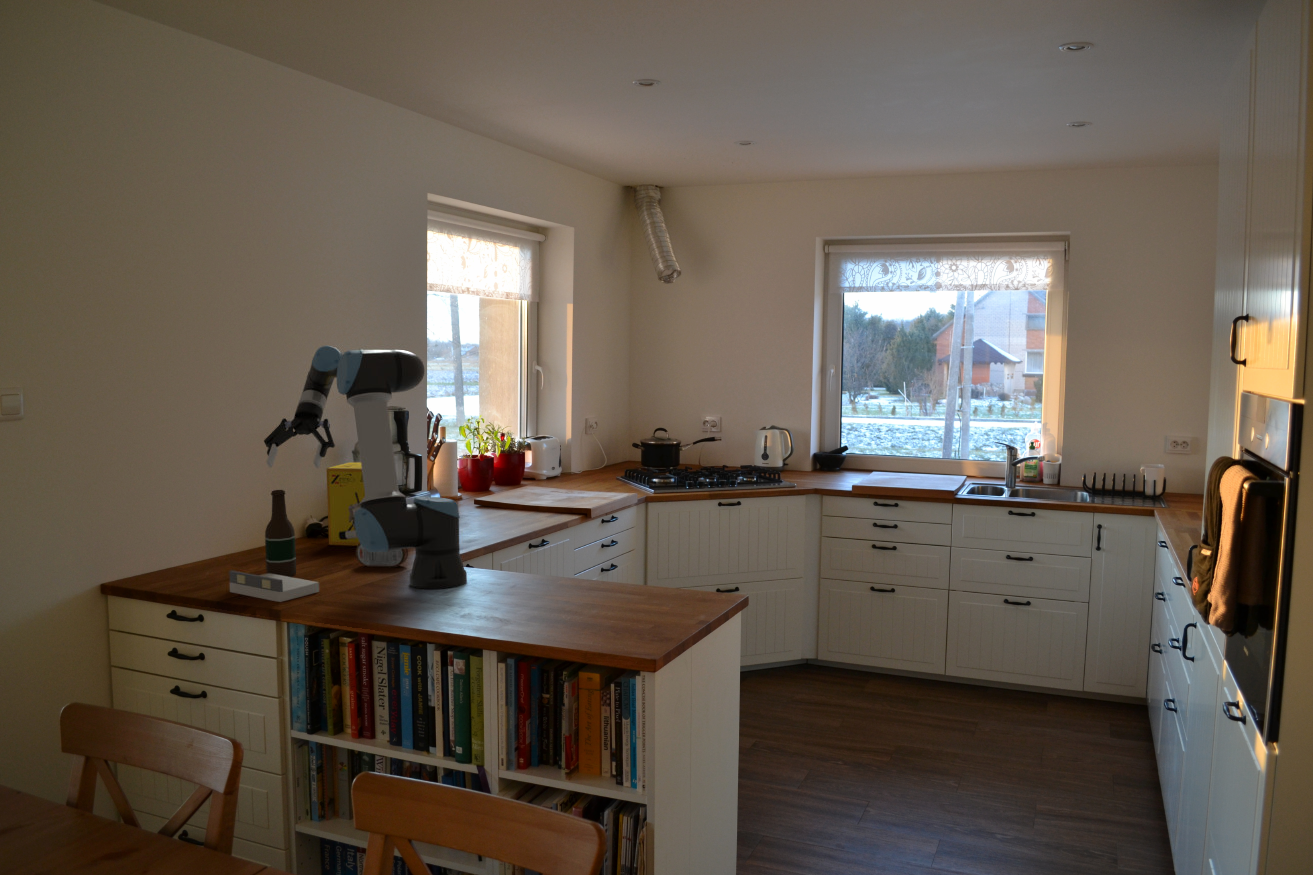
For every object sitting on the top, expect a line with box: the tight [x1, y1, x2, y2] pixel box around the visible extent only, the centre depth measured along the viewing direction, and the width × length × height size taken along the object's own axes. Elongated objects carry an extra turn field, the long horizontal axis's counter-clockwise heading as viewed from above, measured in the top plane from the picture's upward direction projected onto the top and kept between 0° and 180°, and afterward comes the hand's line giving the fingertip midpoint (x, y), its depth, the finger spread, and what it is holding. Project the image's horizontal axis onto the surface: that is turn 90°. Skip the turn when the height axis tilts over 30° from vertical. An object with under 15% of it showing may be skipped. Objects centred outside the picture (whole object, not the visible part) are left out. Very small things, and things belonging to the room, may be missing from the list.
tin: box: [355, 543, 409, 568], centre depth 280 cm, size 15×3×8 cm, turn 84°
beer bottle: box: [264, 489, 297, 577], centre depth 269 cm, size 8×8×24 cm
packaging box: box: [326, 461, 397, 547], centre depth 317 cm, size 16×16×25 cm
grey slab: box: [228, 570, 320, 603], centre depth 251 cm, size 20×12×6 cm, turn 59°
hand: (292, 464), depth 278 cm, fingers open, 13 cm apart
